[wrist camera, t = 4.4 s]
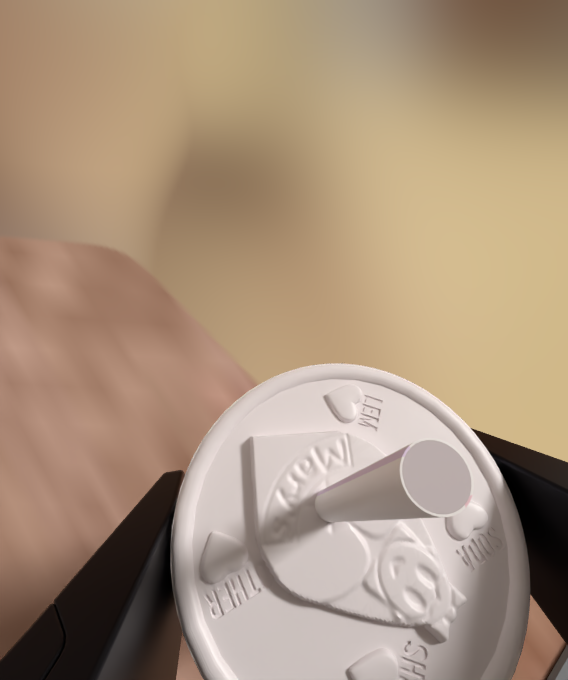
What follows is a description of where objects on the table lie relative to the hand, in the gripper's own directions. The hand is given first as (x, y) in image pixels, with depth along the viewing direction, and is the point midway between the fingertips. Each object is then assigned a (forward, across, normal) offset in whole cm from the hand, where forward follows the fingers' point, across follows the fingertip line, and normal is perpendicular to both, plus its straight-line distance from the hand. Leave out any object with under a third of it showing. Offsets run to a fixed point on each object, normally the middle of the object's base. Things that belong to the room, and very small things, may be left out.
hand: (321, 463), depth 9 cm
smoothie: (+5, 0, +6) cm, 8 cm away
